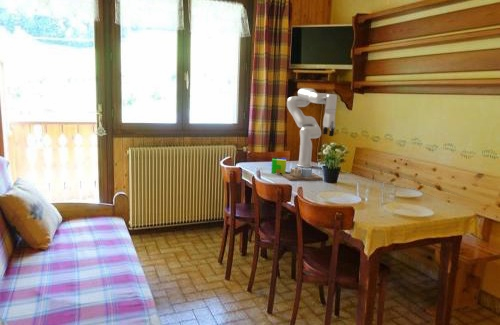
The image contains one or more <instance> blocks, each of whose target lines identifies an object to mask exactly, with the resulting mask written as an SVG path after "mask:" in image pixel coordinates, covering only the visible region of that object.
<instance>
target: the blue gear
mask: <svg viewBox="0 0 500 325" xmlns="http://www.w3.org/2000/svg"><path fill="white" fill-rule="evenodd" d="M312 173H313V169H312V167H308V168H307V169H306V167H301V176H304V177H311V176H312Z"/></svg>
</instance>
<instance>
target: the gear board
mask: <svg viewBox="0 0 500 325" xmlns="http://www.w3.org/2000/svg"><path fill="white" fill-rule="evenodd" d="M305 168H306V167H305ZM306 169H307V168H306ZM301 173H302V168H301V167H299V166H297V167H296V166H295V167H292V168H290V173H285V174H281V175H282V177H284V178H285V179H286V180H288V181H290V182H295V181H296V182H299V181H301V182H302V181H303V182H305V181H323V177H322V176H320V175H318V174H316V173H313V172H312V176H311V177H304V176H301Z"/></svg>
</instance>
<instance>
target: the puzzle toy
mask: <svg viewBox="0 0 500 325" xmlns="http://www.w3.org/2000/svg"><path fill="white" fill-rule="evenodd" d="M271 159H272V160H271V174H274V173H282V174H286V168H287V157H274V156H273V157H272V158H271ZM282 174H281V175H282Z"/></svg>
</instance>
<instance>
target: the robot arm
mask: <svg viewBox="0 0 500 325" xmlns="http://www.w3.org/2000/svg"><path fill="white" fill-rule="evenodd" d="M337 98H338V96H337V94H331V93H324V92H323V93H322V92H321V93H320V92H317V90H315V88H311V87H310V88H309V87H301V88H299V89H298V91H297V96H296V95H295V96H290V97H288V98H287V101H286V107H287V110H288V111H289V113H290V115H291V116H292V118H293V120H294V121H295V122H294V123H295V124H296V126H297V127H298V128H299V129H300V130H299V138H300V139H299V140H300V142H299V156H298V163H296V166H297V167H298V168H312V167H313V164H312V152H313V142H312V140H311V139H318V138H320V137H321V136H322V134H323V135H328V136H329V137H334V136H335V135H334V134H335V129H336V124H335V123H336V112H337V102H338V101H337V100H338V99H337ZM310 103H313V104H317V105H319V104H321V105H325V108H324V116H323V119H322V120H323V121H322V126H323V127H322V129H323V131H322V130H321V127H320V126H319V124H318V122H317V120H316V118H315V117H313V116H312V115H311V116H310V115H305V114H304V113H303V110H301V109H300V108H305V107H308V105H310ZM328 128H329V131H328ZM328 133H329V134H328Z"/></svg>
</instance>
